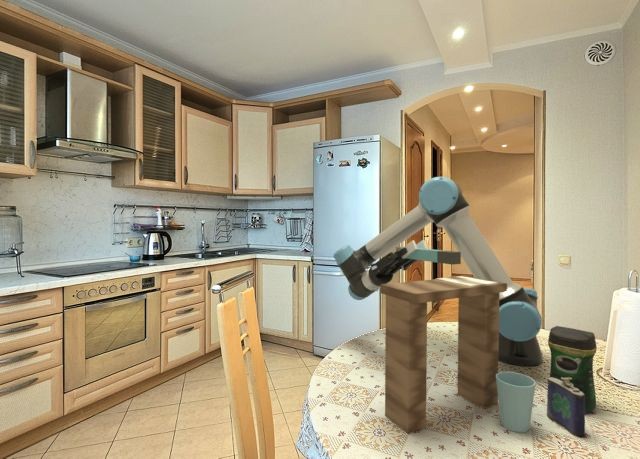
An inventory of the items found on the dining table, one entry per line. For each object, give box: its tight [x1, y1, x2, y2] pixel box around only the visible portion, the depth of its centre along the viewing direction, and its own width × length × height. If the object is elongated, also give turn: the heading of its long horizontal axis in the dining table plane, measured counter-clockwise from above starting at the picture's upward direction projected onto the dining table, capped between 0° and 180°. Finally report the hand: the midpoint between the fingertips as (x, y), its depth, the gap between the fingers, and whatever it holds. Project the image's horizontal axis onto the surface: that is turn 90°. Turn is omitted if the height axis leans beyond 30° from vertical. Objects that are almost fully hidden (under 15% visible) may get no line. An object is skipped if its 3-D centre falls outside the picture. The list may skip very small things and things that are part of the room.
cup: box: [496, 371, 537, 434], centre depth 80 cm, size 8×8×10 cm
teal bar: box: [395, 246, 462, 266], centre depth 101 cm, size 3×22×3 cm, turn 27°
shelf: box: [380, 275, 507, 434], centre depth 86 cm, size 28×12×30 cm, turn 116°
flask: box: [546, 376, 586, 439], centre depth 80 cm, size 9×3×11 cm, turn 8°
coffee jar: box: [547, 325, 598, 413], centre depth 89 cm, size 10×8×19 cm
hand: (419, 244), depth 103 cm, fingers closed on teal bar, 3 cm apart
